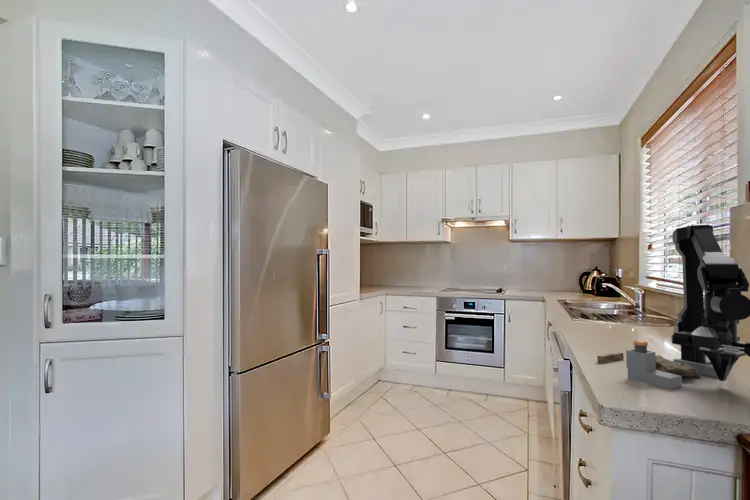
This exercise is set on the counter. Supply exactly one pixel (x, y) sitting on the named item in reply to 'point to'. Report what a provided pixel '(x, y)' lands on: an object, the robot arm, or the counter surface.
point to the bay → (645, 370)
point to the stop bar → (610, 357)
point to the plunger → (640, 346)
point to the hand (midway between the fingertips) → (722, 380)
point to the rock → (675, 367)
